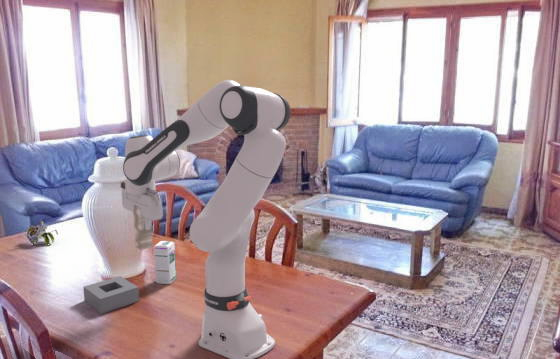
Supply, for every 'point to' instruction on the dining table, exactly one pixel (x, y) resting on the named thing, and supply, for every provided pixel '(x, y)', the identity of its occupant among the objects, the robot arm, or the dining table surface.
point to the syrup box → (165, 262)
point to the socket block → (111, 294)
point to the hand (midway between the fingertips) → (143, 227)
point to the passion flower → (39, 233)
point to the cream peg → (141, 231)
